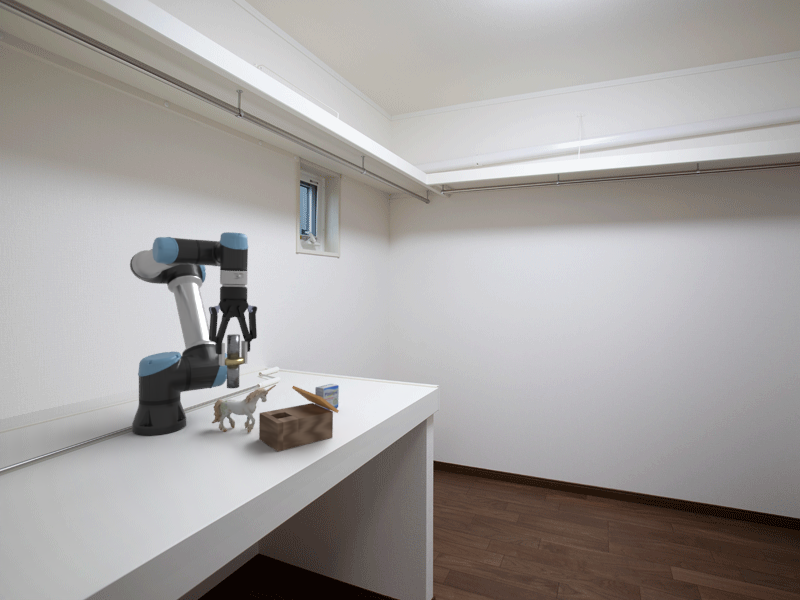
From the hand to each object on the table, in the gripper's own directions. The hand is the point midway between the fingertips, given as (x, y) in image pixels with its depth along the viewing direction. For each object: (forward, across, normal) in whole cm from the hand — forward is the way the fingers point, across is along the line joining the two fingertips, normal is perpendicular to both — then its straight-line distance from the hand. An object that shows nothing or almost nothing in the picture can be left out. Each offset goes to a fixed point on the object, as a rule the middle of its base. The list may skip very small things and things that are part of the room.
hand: (233, 363), depth 131 cm
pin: (+7, 0, 0) cm, 7 cm away
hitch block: (+23, +15, -11) cm, 29 cm away
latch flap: (+12, +21, -11) cm, 26 cm away
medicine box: (+23, +39, +10) cm, 46 cm away
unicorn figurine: (+23, +7, +8) cm, 25 cm away
